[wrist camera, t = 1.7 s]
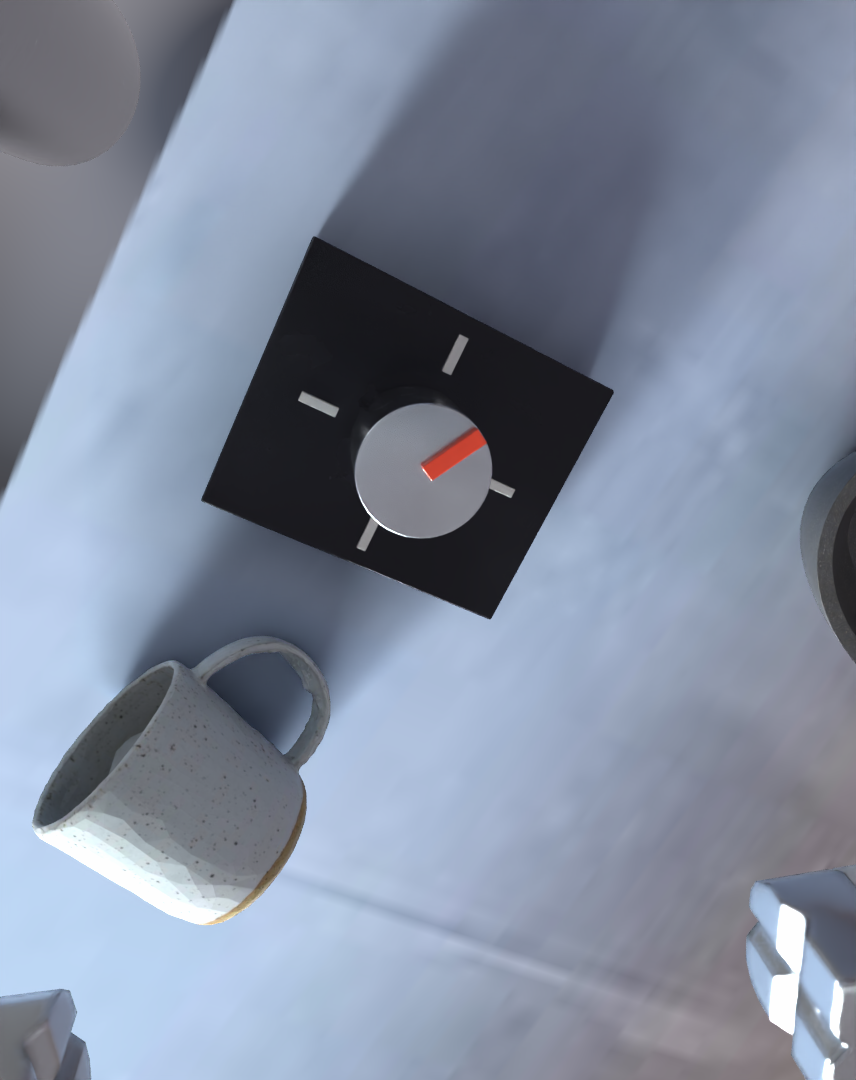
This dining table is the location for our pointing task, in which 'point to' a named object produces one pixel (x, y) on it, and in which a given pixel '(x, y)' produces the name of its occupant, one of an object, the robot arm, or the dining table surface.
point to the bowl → (833, 549)
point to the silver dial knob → (419, 462)
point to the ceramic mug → (184, 789)
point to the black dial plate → (368, 370)
